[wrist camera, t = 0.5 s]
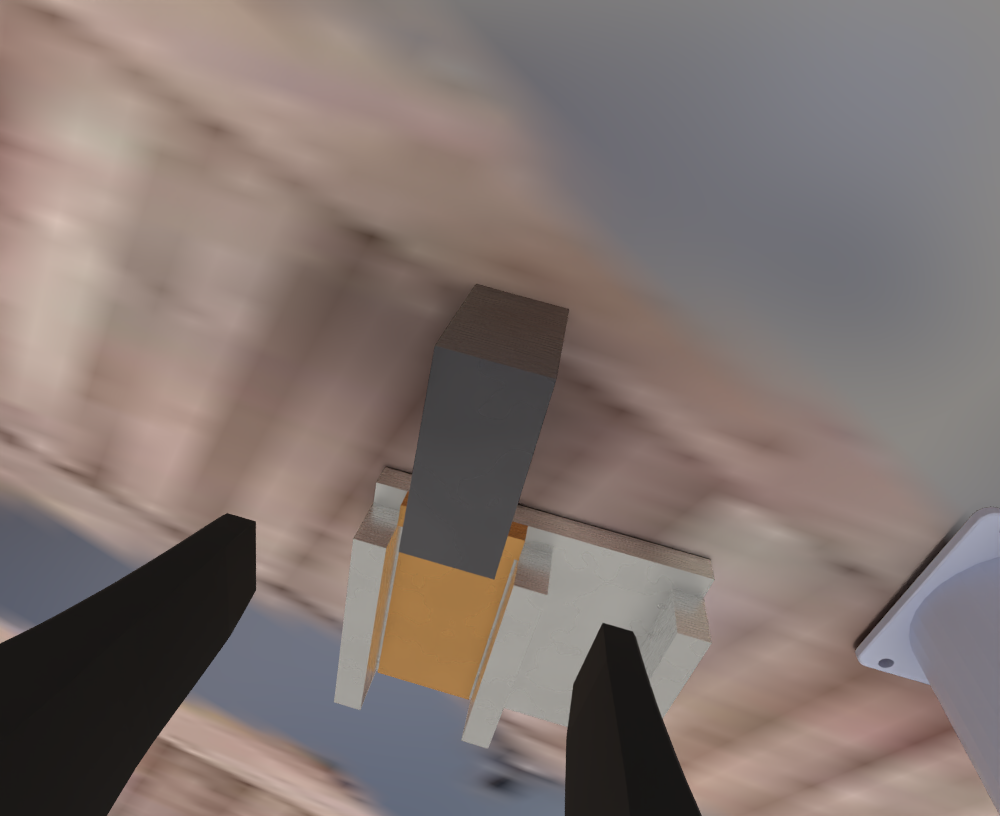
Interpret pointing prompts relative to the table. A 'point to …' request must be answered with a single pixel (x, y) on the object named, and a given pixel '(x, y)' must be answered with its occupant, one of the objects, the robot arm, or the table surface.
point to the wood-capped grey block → (481, 427)
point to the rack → (515, 613)
